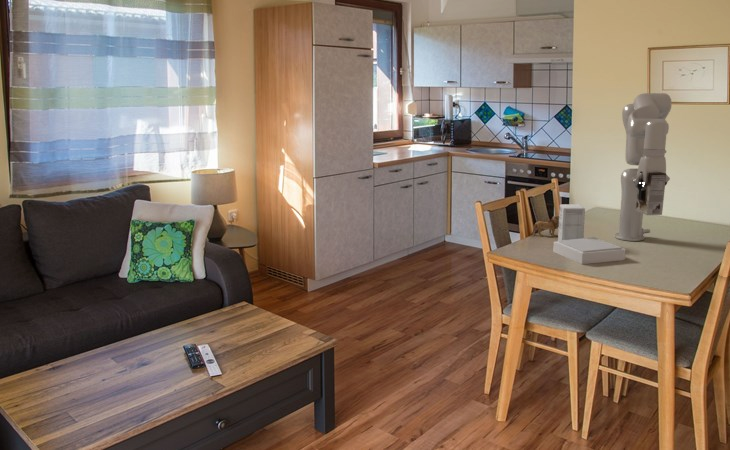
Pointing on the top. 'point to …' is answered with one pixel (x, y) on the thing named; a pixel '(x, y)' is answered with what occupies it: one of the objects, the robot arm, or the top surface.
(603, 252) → the square tray
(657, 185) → the coffee box
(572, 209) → the supplement box
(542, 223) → the lion figurine
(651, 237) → the top surface
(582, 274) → the top surface
